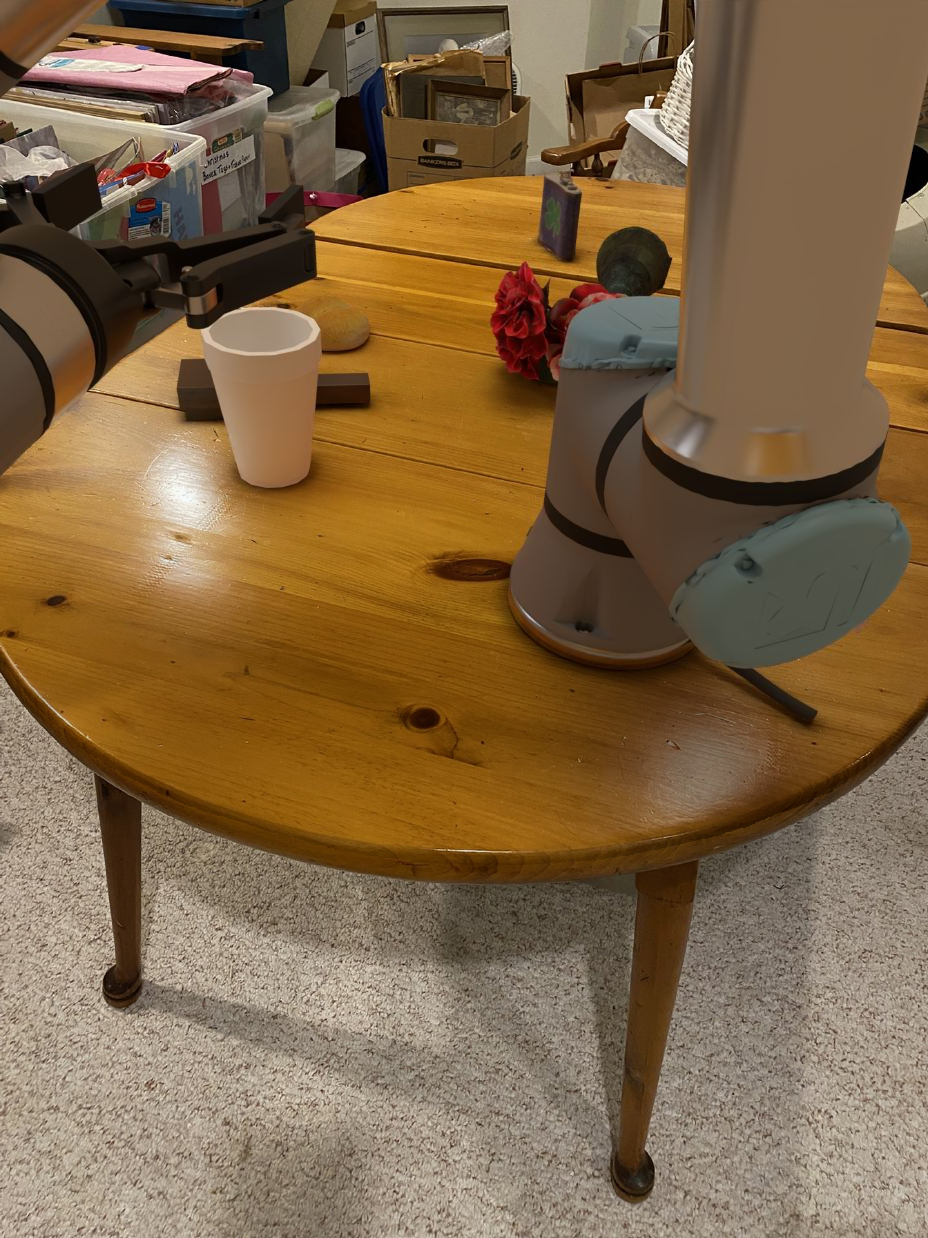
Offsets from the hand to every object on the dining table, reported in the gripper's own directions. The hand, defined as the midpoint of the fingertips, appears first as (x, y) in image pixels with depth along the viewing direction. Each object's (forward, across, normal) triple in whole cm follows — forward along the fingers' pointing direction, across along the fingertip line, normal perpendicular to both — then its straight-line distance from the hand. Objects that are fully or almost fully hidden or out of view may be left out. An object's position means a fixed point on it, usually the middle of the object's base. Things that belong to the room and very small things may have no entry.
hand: (195, 196), depth 59 cm
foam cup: (+10, 0, -26) cm, 28 cm away
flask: (+75, +20, -26) cm, 82 cm away
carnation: (+42, +26, -26) cm, 56 cm away
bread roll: (+38, -3, -26) cm, 46 cm away
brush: (+21, -4, -26) cm, 34 cm away
